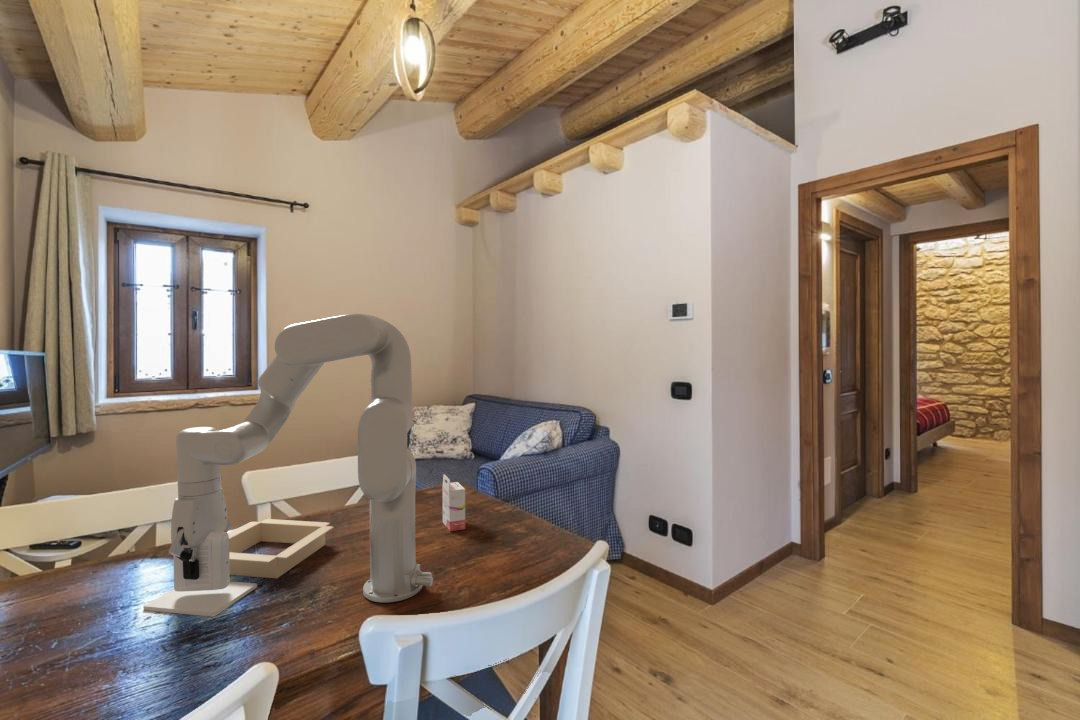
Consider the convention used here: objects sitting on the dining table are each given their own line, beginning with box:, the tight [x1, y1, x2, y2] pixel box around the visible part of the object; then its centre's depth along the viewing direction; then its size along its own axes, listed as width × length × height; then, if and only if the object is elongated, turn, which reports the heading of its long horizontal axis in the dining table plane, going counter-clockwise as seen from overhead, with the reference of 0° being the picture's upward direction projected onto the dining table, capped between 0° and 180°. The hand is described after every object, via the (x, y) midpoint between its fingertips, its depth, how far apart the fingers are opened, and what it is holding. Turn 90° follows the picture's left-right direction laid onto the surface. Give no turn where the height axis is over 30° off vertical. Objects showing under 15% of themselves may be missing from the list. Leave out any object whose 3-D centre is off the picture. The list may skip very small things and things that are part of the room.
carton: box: [227, 518, 335, 579], centre depth 127 cm, size 24×24×5 cm
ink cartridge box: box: [442, 473, 466, 532], centre depth 148 cm, size 9×5×15 cm, turn 25°
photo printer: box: [172, 530, 231, 592], centre depth 107 cm, size 10×4×12 cm, turn 97°
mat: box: [143, 581, 258, 618], centre depth 107 cm, size 16×12×1 cm
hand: (203, 571), depth 107 cm, fingers closed on photo printer, 5 cm apart
